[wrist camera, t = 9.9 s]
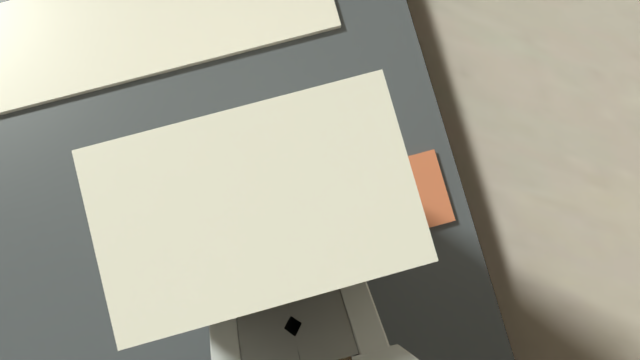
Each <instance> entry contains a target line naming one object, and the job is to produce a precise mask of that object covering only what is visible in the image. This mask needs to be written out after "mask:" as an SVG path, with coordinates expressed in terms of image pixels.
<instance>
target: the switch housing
mask: <svg viewBox="0 0 640 360" xmlns="http://www.w3.org/2000/svg"><path fill="white" fill-rule="evenodd" d="M381 69H382V70H383V73H384V76H385V80H386V83H387V87H388V90H389V94H390V97H391V100H392V104H393V107H394V111H395V114H396V117H397V121H398V124H399V128H400V131H401V134H402V138H403V141H404V145H405V148H406V151H407V155H408V158H409V162H410V165H411V169H412V172H413V175H414V179H415V182H416V186H417V189H418V192H419V196H420V199H421V203H422V206H423V209H424V213H425V216H426V220H427V223H428V226H429V230H430V233H431V237H432V240H433V244H434V247H435V250H436V254H437V257H438V261H437V262H433V263H430V264H426V265H422V266H419V267H415V268H412V269H408V270H405V271H401V272H398V273H394V274H390V275H387V276H383V277H380V278H376V279H373V280H369V281H366V282H367V285H368V287H369V290H370V293H371V296H372V298H373V301H374V304H375V307H376V309H377V312H378V315H379V318H380V320H381V323H382V326H383V329H384V331H385V334H386V337H387V340H388V342H389V345H390V346H391V345H396V344H398V345H400V346H401V347H402V348H404V349H405V350H407V351H408V352H409V353H411V354H412V355H414V356H415V357H416V358H418V359H419V360H515V359H514V356H513V353H512V349H511V346H510V343H509V339H508V336H507V333H506V329H505V326H504V323H503V320H502V316H501V313H500V310H499V306H498V303H497V300H496V296H495V293H494V290H493V286H492V283H491V280H490V276H489V273H488V270H487V267H486V263H485V260H484V257H483V253H482V250H481V247H480V243H479V240H478V237H477V233H476V230H475V227H474V223H473V220H472V217H471V213H470V210H469V207H468V204H467V200H466V197H465V194H464V190H463V187H462V184H461V180H460V177H459V174H458V170H457V167H456V164H455V160H454V157H453V154H452V150H451V147H450V144H449V141H448V137H447V134H446V131H445V127H444V124H443V121H442V117H441V114H440V111H439V107H438V104H437V101H436V97H435V94H434V91H433V88H432V84H431V81H430V78H429V74H428V71H427V68H426V64H425V61H424V58H423V54H422V51H421V48H420V44H419V41H418V38H417V34H416V31H415V28H414V25H413V21H412V18H411V15H410V11H409V8H408V5H407V1H406V0H0V360H211V351H210V335H209V326H205V327H202V328H198V329H194V330H191V331H187V332H184V333H180V334H177V335H173V336H170V337H166V338H162V339H159V340H155V341H152V342H148V343H145V344H141V345H137V346H134V347H130V348H127V349H123V350H120V351H118V350H117V345H116V341H115V337H114V332H113V328H112V324H111V319H110V315H109V311H108V306H107V302H106V298H105V293H104V289H103V285H102V280H101V276H100V272H99V267H98V263H97V259H96V255H95V250H94V246H93V242H92V237H91V233H90V229H89V224H88V220H87V216H86V211H85V207H84V203H83V198H82V194H81V190H80V185H79V181H78V177H77V172H76V168H75V164H74V159H73V155H72V151H71V150H75V149H79V148H83V147H87V146H90V145H94V144H98V143H102V142H106V141H110V140H113V139H117V138H121V137H125V136H129V135H133V134H136V133H140V132H144V131H148V130H152V129H156V128H159V127H163V126H167V125H171V124H175V123H178V122H182V121H186V120H190V119H194V118H198V117H201V116H205V115H209V114H213V113H217V112H221V111H224V110H228V109H232V108H236V107H240V106H243V105H247V104H251V103H255V102H259V101H263V100H266V99H270V98H274V97H278V96H282V95H286V94H289V93H293V92H297V91H301V90H305V89H309V88H312V87H316V86H320V85H324V84H328V83H331V82H335V81H339V80H343V79H347V78H351V77H354V76H358V75H362V74H366V73H370V72H374V71H377V70H381Z"/></svg>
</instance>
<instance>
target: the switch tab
mask: <svg viewBox="0 0 640 360" xmlns="http://www.w3.org/2000/svg"><path fill="white" fill-rule="evenodd" d="M71 151H72V155H73V159H74V164H75V168H76V172H77V177H78V181H79V185H80V190H81V194H82V198H83V203H84V207H85V211H86V216H87V220H88V224H89V229H90V233H91V237H92V242H93V246H94V250H95V255H96V259H97V263H98V267H99V272H100V276H101V280H102V285H103V289H104V293H105V298H106V302H107V306H108V311H109V315H110V319H111V324H112V328H113V332H114V337H115V341H116V345H117V350H118V351H120V350H123V349H127V348H130V347H134V346H137V345H141V344H145V343H148V342H152V341H155V340H159V339H162V338H166V337H170V336H173V335H177V334H180V333H184V332H187V331H191V330H194V329H198V328H202V327H205V326H209V325H212V324H216V323H219V322H223V321H227V320H230V319H234V318H237V317H241V316H244V315H248V314H251V313H255V312H259V311H262V310H266V309H269V308H273V307H276V306H280V305H284V304H287V303H291V302H294V301H298V300H301V299H305V298H308V297H312V296H316V295H319V294H323V293H326V292H330V291H333V290H337V289H341V288H344V287H348V286H351V285H355V284H358V283H362V282H365V281H369V280H373V279H376V278H380V277H383V276H387V275H390V274H394V273H398V272H401V271H405V270H408V269H412V268H415V267H419V266H422V265H426V264H430V263H433V262H437V261H438V257H437V254H436V250H435V247H434V244H433V240H432V237H431V233H430V230H429V226H428V223H427V220H426V216H425V213H424V209H423V206H422V203H421V199H420V196H419V192H418V189H417V186H416V182H415V179H414V175H413V172H412V169H411V165H410V162H409V158H408V155H407V151H406V148H405V145H404V141H403V138H402V134H401V131H400V128H399V124H398V121H397V117H396V114H395V111H394V107H393V104H392V100H391V97H390V94H389V90H388V87H387V83H386V80H385V76H384V73H383V70H382V69H381V70H377V71H374V72H370V73H366V74H362V75H358V76H354V77H351V78H347V79H343V80H339V81H335V82H331V83H328V84H324V85H320V86H316V87H312V88H309V89H305V90H301V91H297V92H293V93H289V94H286V95H282V96H278V97H274V98H270V99H266V100H263V101H259V102H255V103H251V104H247V105H243V106H240V107H236V108H232V109H228V110H224V111H221V112H217V113H213V114H209V115H205V116H201V117H198V118H194V119H190V120H186V121H182V122H178V123H175V124H171V125H167V126H163V127H159V128H156V129H152V130H148V131H144V132H140V133H136V134H133V135H129V136H125V137H121V138H117V139H113V140H110V141H106V142H102V143H98V144H94V145H90V146H87V147H83V148H79V149H75V150H71Z"/></svg>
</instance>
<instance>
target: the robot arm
mask: <svg viewBox="0 0 640 360" xmlns="http://www.w3.org/2000/svg"><path fill="white" fill-rule="evenodd" d="M209 335H210V351H211V360H419V359H418V358H416V357H415V356H414V355H412V354H411V353H409V352H408V351H407V350H405V349H404V348H402V347H401V346H400V345H398V344H396V345H391V346H390V345H389V342H388V340H387V337H386V334H385V331H384V329H383V326H382V323H381V320H380V318H379V315H378V312H377V309H376V307H375V304H374V301H373V298H372V296H371V293H370V290H369V287H368V285H367V282H366V281H365V282H362V283H358V284H355V285H351V286H348V287H344V288H341V289H337V290H333V291H330V292H326V293H323V294H319V295H316V296H312V297H308V298H305V299H301V300H298V301H294V302H291V303H287V304H284V305H280V306H276V307H273V308H269V309H266V310H262V311H259V312H255V313H251V314H248V315H244V316H241V317H237V318H234V319H230V320H227V321H223V322H219V323H216V324H212V325H209Z"/></svg>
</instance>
